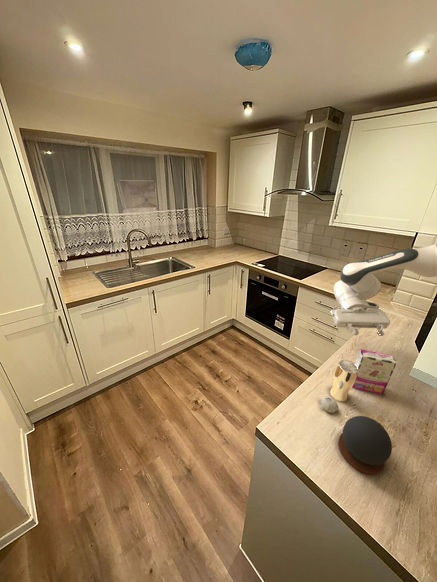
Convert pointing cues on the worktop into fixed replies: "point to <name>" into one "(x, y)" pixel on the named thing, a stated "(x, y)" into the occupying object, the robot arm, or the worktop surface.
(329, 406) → the garlic
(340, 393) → the cream cylindrical can
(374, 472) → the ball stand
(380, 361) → the candy bar box
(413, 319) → the worktop surface
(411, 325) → the worktop surface
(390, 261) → the robot arm
